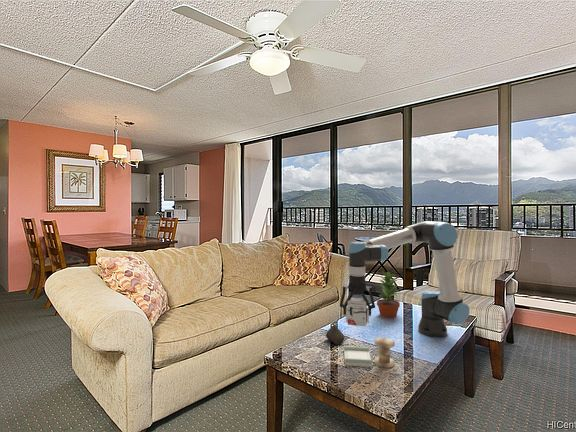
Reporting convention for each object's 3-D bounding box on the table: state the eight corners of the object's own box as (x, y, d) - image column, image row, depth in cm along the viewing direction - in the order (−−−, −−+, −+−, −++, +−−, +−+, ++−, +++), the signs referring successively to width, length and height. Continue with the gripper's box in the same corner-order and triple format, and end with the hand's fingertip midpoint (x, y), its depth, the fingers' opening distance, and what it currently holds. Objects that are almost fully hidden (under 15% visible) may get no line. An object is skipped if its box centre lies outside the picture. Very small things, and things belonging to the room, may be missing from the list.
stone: (346, 349, 173) (344, 331, 180) (345, 342, 167) (342, 324, 174) (328, 350, 174) (326, 332, 181) (326, 344, 168) (324, 326, 175)
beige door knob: (392, 358, 153) (392, 337, 153) (396, 368, 144) (396, 346, 144) (373, 357, 154) (373, 337, 154) (375, 367, 145) (375, 345, 145)
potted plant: (404, 319, 206) (404, 272, 205) (380, 319, 206) (380, 272, 206) (396, 311, 221) (396, 267, 220) (374, 311, 221) (374, 268, 220)
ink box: (347, 324, 152) (347, 300, 152) (348, 321, 157) (348, 297, 157) (366, 326, 150) (366, 301, 149) (366, 323, 155) (366, 298, 154)
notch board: (368, 352, 160) (368, 346, 160) (372, 366, 146) (372, 360, 146) (344, 350, 162) (344, 345, 162) (345, 365, 147) (345, 359, 147)
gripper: (379, 273, 155) (379, 320, 156) (333, 272, 158) (334, 318, 159) (382, 277, 148) (382, 325, 148) (333, 275, 151) (334, 323, 151)
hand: (357, 321), depth 153 cm, fingers closed on ink box, 9 cm apart
